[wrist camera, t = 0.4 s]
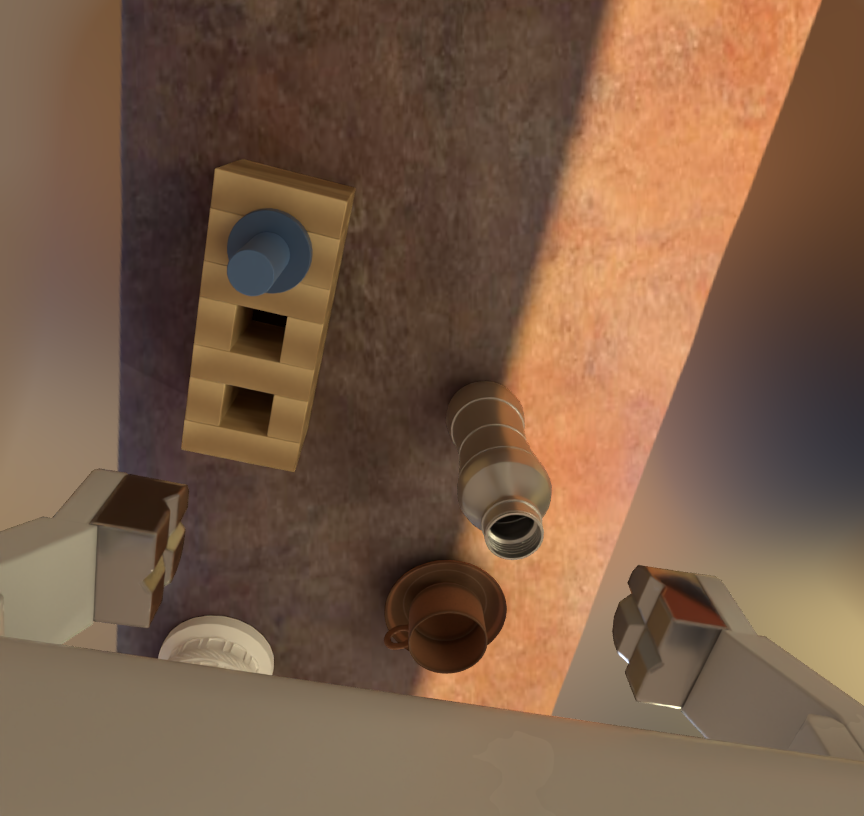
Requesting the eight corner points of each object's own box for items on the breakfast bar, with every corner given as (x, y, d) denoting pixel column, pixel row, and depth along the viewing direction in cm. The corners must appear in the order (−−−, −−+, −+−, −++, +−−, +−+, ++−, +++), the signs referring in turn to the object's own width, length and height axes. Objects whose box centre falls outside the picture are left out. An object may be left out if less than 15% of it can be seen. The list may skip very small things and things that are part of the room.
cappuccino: (429, 663, 73) (431, 710, 67) (360, 589, 69) (356, 632, 63) (526, 610, 71) (536, 654, 65) (461, 529, 66) (466, 569, 61)
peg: (254, 188, 52) (208, 214, 40) (328, 206, 52) (305, 238, 40) (243, 261, 54) (197, 307, 42) (315, 278, 54) (289, 328, 43)
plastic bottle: (445, 372, 60) (463, 490, 42) (523, 374, 60) (574, 493, 42) (442, 438, 63) (457, 578, 44) (516, 440, 63) (561, 579, 45)
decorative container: (165, 607, 69) (89, 764, 53) (281, 624, 71) (242, 783, 54) (157, 692, 74) (85, 861, 57) (266, 707, 75) (227, 877, 59)
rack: (241, 158, 53) (214, 167, 45) (355, 187, 54) (347, 201, 46) (208, 407, 61) (180, 449, 53) (307, 428, 62) (294, 472, 55)
